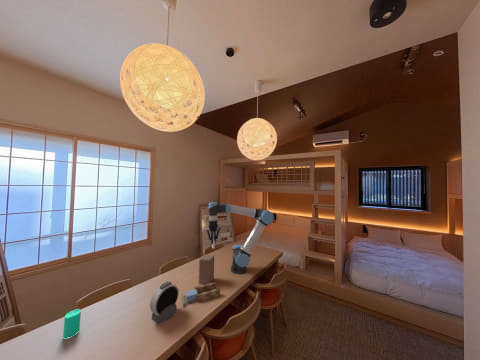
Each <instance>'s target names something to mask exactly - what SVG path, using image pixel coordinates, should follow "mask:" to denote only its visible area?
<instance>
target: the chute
mask: <svg viewBox="0 0 480 360" xmlns="http://www.w3.org/2000/svg"><path fill="white" fill-rule="evenodd" d="M194 289H196V290H197V293H198V294H197V300H195V301H191V302H188V303H187V301H186V294H185V295H184V293H181V296H180V297H181V298H180V299H181V303H182V308H185V307H186V306H190V305H193V304H197V303H199V302H203V301H206V300H210V299H214V298H217V297H221V289H220V288H217V282H216V281H214V282H213V281H212V283H209V284H205V285H204V284H200V285H197V286H194Z"/></svg>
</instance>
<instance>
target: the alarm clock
mask: <svg viewBox="0 0 480 360" xmlns="http://www.w3.org/2000/svg"><path fill="white" fill-rule="evenodd" d="M179 294H180V290H179V287H178V286H177V285H176V284H174V283H172V282H171V281H165V282H163V283H162V284H161V285H160V286H158V287H157V289H156V290H155V291H153V294H152V296H151V298H150V302H149V308H150V311H151V312H152V314H151V320H152V321H153V322H154V323H156V324H157V325H160V324H162V323H164V322H166V321H168V320H169V319H171V318H172V317H173V316H174V315H175V314H176V313H177V312H178V309H177V307H178V306H177V302H178V299H179Z"/></svg>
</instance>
